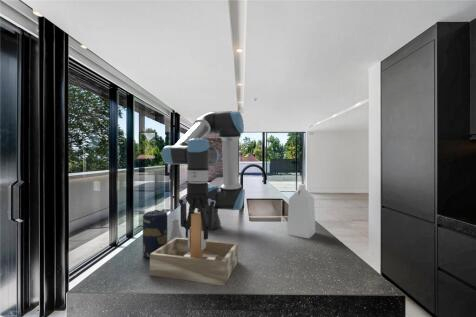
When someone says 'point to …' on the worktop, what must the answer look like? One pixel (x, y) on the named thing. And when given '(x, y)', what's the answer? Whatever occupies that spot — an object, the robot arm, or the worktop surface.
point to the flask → (174, 231)
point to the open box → (195, 261)
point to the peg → (196, 235)
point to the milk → (301, 214)
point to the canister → (154, 231)
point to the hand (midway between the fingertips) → (196, 247)
